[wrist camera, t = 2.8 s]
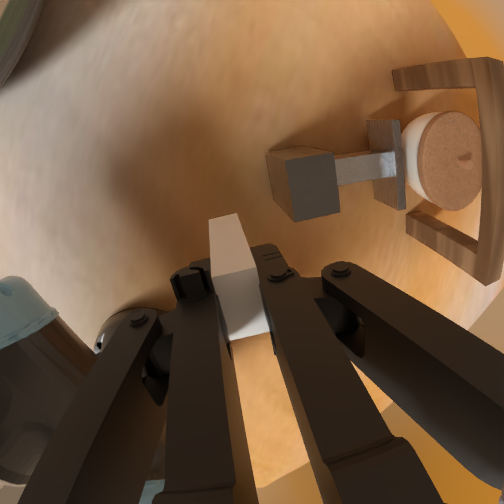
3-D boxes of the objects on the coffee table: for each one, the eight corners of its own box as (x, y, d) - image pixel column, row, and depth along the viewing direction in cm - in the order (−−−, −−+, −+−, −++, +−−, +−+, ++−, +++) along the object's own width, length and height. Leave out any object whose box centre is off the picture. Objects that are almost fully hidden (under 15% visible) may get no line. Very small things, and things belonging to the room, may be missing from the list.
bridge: (405, 232, 36) (485, 286, 23) (391, 70, 28) (487, 56, 14) (420, 229, 36) (500, 278, 23) (407, 71, 28) (502, 61, 14)
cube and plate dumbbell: (276, 217, 33) (298, 245, 25) (261, 133, 29) (280, 134, 22) (379, 196, 33) (420, 215, 26) (371, 119, 30) (414, 120, 22)
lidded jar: (409, 92, 29) (463, 89, 21) (456, 148, 33) (507, 160, 24) (366, 159, 32) (415, 173, 23) (419, 210, 35) (467, 234, 27)
